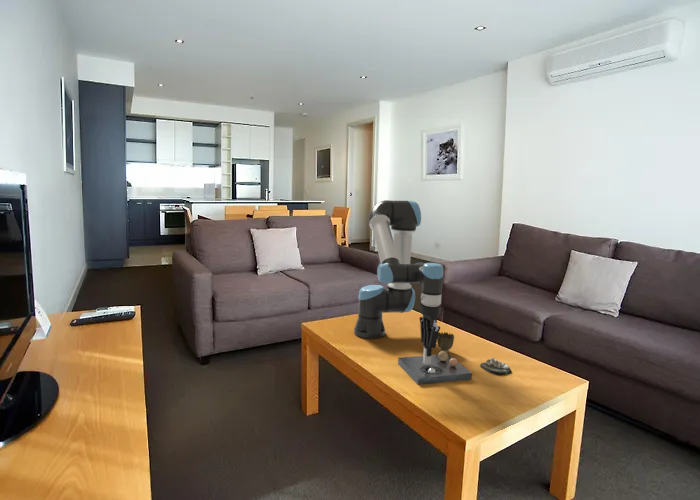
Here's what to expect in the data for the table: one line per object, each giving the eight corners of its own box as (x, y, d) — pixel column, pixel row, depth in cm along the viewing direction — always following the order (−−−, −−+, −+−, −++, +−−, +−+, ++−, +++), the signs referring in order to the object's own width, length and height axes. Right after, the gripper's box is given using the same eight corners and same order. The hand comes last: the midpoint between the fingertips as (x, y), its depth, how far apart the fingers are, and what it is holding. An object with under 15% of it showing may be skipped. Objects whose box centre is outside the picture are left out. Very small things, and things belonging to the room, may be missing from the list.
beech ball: (435, 359, 170) (436, 349, 170) (444, 358, 171) (445, 349, 171) (440, 363, 166) (441, 353, 166) (449, 362, 167) (450, 352, 167)
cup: (453, 356, 180) (454, 338, 179) (435, 354, 182) (437, 336, 181) (452, 349, 188) (454, 332, 187) (436, 348, 189) (437, 331, 188)
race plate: (397, 363, 171) (398, 357, 170) (446, 359, 177) (447, 353, 176) (417, 384, 153) (418, 378, 152) (471, 379, 159) (472, 373, 158)
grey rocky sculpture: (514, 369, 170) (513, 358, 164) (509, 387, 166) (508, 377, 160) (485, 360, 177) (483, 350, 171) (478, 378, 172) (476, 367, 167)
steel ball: (425, 374, 161) (426, 366, 160) (433, 373, 162) (434, 365, 161) (429, 379, 158) (430, 371, 157) (437, 378, 159) (438, 370, 158)
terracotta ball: (447, 364, 165) (447, 357, 165) (454, 364, 166) (455, 356, 165) (451, 368, 162) (452, 360, 162) (458, 367, 163) (459, 359, 162)
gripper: (414, 299, 165) (411, 357, 169) (429, 309, 153) (425, 371, 156) (431, 299, 167) (428, 355, 171) (448, 308, 155) (443, 369, 158)
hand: (426, 362), depth 164 cm, fingers closed
